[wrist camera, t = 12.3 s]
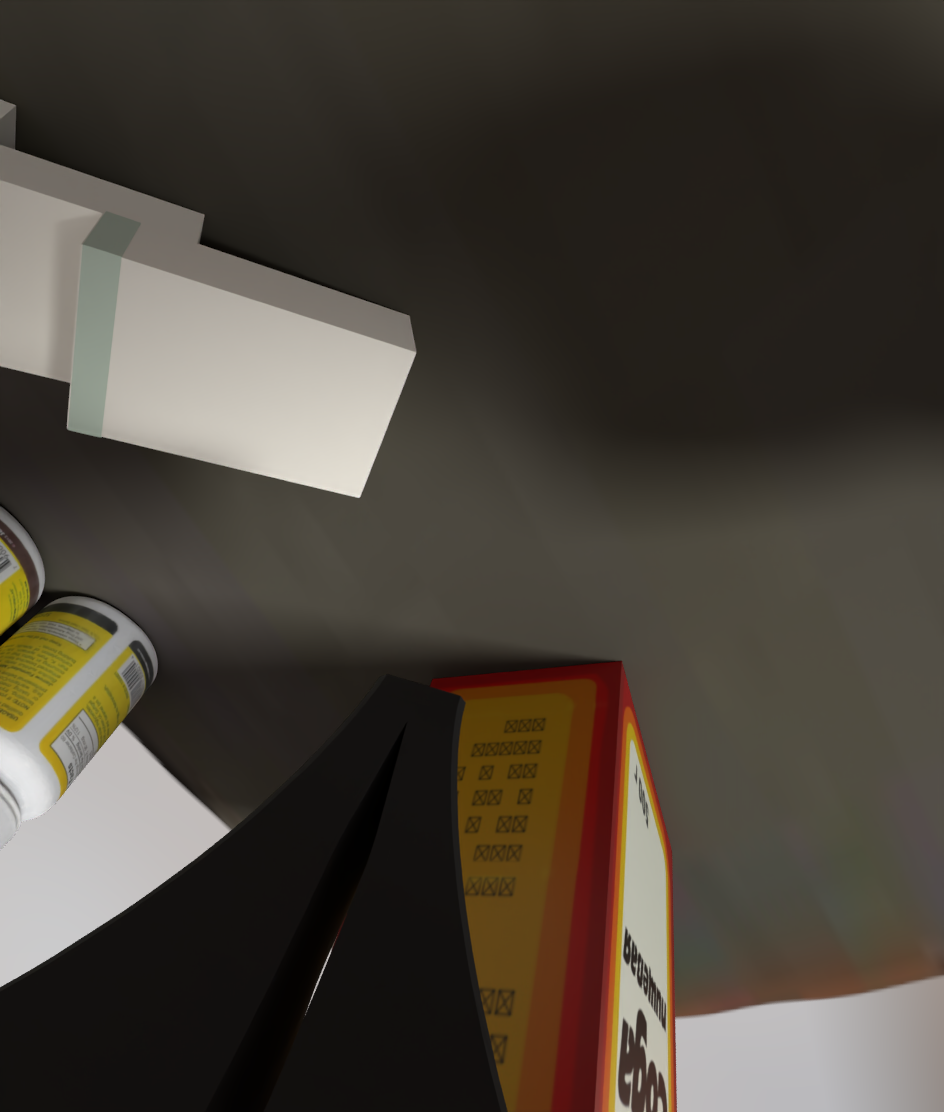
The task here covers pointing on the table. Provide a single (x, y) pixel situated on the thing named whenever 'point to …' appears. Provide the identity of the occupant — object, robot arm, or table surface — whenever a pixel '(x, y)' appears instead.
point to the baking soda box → (567, 889)
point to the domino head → (231, 360)
